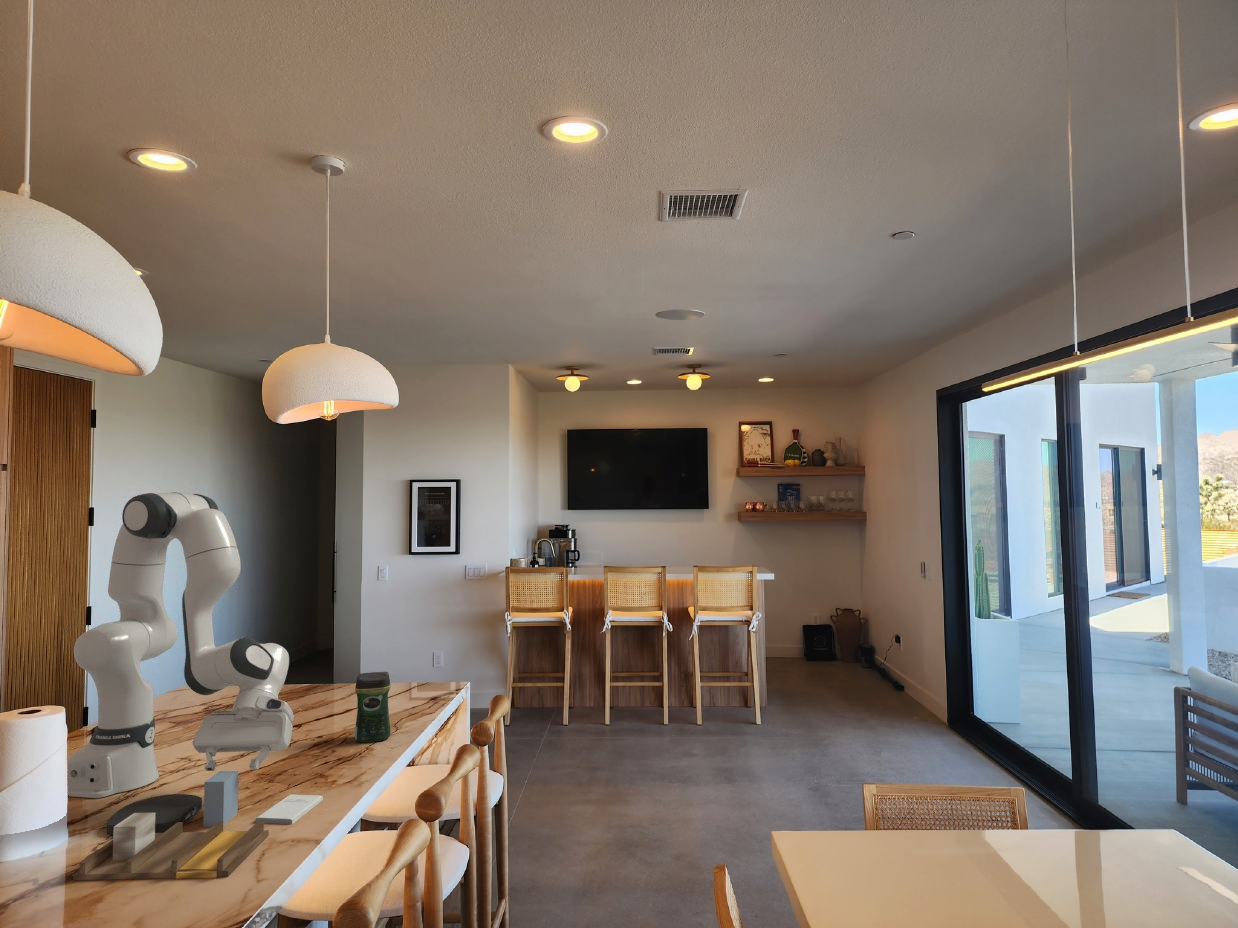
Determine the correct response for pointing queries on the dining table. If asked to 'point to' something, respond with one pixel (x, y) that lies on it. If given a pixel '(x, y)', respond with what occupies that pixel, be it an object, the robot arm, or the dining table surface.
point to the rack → (169, 851)
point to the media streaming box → (160, 810)
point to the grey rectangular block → (220, 797)
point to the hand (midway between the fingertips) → (231, 768)
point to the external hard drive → (290, 809)
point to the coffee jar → (372, 707)
